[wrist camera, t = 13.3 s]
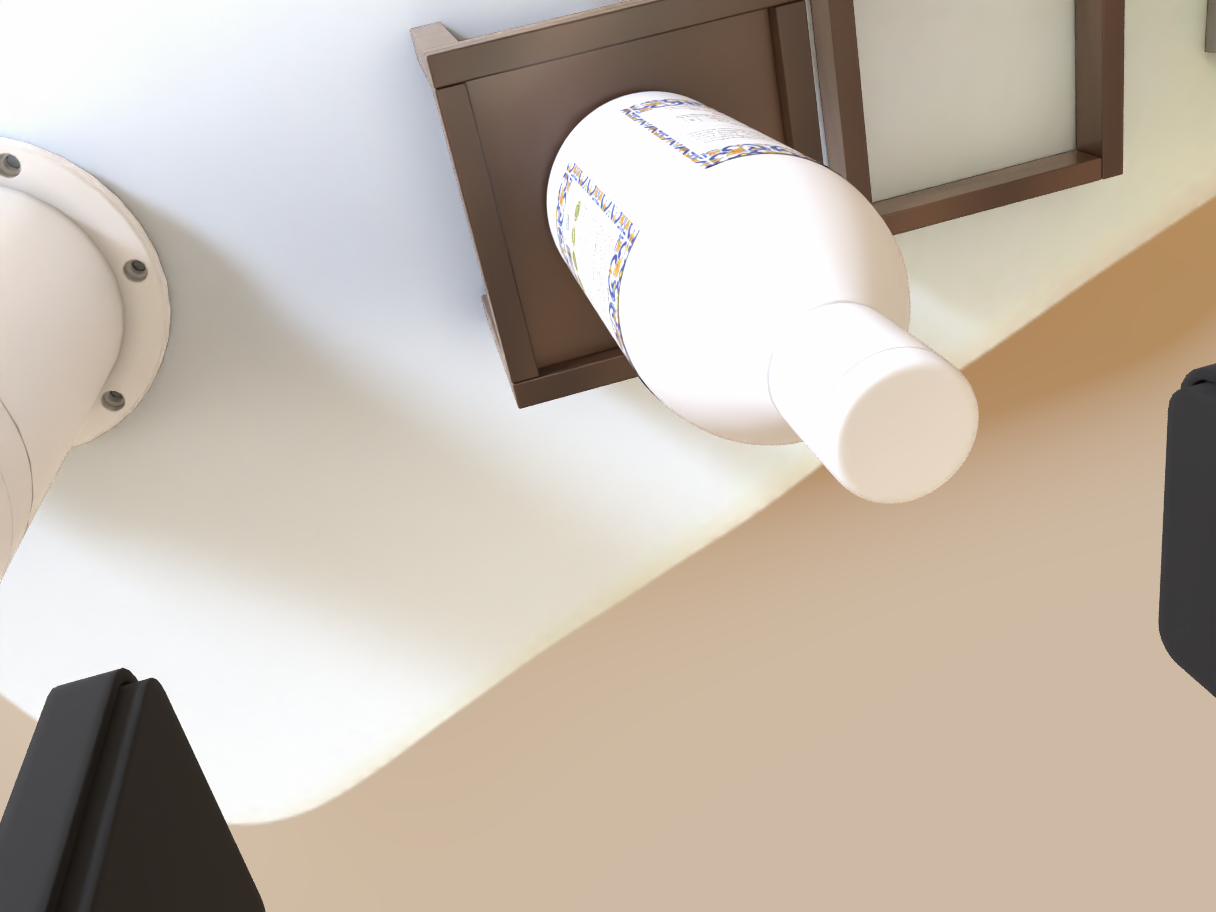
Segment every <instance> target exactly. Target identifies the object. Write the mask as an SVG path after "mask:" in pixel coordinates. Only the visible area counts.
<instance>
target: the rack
mask: <svg viewBox="0 0 1216 912" xmlns="http://www.w3.org/2000/svg"><path fill="white" fill-rule="evenodd" d="M1075 9H1076V125H1077V150H1073V151H1069V152H1066V153H1062V154H1058V155H1054V156H1050V157H1047V158H1043V159H1039V160H1035V161H1031V162H1028V163H1024V164H1020V165H1016V166H1013V167H1009V168H1005V169H1001V170H997V171H994V172H990V173H986V174H982V175H978V176H975V177H971V178H967V179H963V180H960V181H956V182H952V183H948V184H944V185H941V186H937V187H933V188H929V189H926V190H922V191H918V192H914V193H910V194H907V195H903V196H899V197H895V198H891V199H888V200H884V201H880V202H876V203H873V204H872V198H871V187H870V176H869V166H868V155H867V145H866V134H865V123H864V113H863V102H862V91H861V81H860V70H859V60H858V49H857V38H856V28H855V17H854V7H853V0H811V10H812V19H813V28H814V37H815V46H816V55H817V64H818V73H819V82H820V91H821V100H822V109H823V118H824V127H825V136H826V145H827V154H828V163H829V168H831V169H832V170H834V171H836V172H837V173H839V174H840V175H841V176H843V177H844V178H845V179H847V180H848V181H849V182H850V183H851V184H852V185H853V186H854V187H855V188H856V189H857V190H858V191H859V192H860V193H861V194H862V195H863V196H864V197H865V198H866V199H867V200H868V201H869V202H870V204H871V205H872V206H873V207H874V209H875V210H876V211H877V212H878V214H879V215H880V216H881V218H882V219H883V220H884V222H885V223H886V225H887V227H888V228H889V230H890V232H891V233H892V235H896V234H900V233H904V232H908V231H911V230H915V229H919V228H922V227H926V226H930V225H934V224H937V223H941V222H945V221H949V220H952V219H956V218H960V217H964V216H967V215H971V214H975V213H979V212H982V211H986V210H990V209H993V208H997V207H1001V206H1005V205H1008V204H1012V203H1016V202H1020V201H1023V200H1027V199H1031V198H1035V197H1038V196H1042V195H1046V194H1050V193H1053V192H1057V191H1061V190H1064V189H1068V188H1072V187H1076V186H1079V185H1083V184H1087V183H1091V182H1094V181H1098V180H1101V179H1106V178H1110V177H1114V176H1117V175H1121V174H1123V108H1124V11H1125V0H1075ZM410 32H411V36H412V40H413V44H414V47H415V51H416V55H417V59H418V61H419V63H420V65H421V67H422V69H423V71H424V73H425V75H426V77H427V79H428V81H429V83H430V85H431V87H432V90H433V93H434V97H435V101H436V105H437V108H438V112H439V116H440V120H441V124H442V127H443V131H444V135H445V139H446V142H447V146H448V150H449V154H450V158H451V161H452V165H453V169H454V173H455V176H456V180H457V184H458V188H459V192H460V195H461V199H462V203H463V207H464V210H465V214H466V218H467V222H468V226H469V229H470V233H471V237H472V241H473V244H474V248H475V252H476V256H477V260H478V263H479V267H480V271H481V275H482V278H483V282H484V286H485V290H486V294H487V295H483V296H482V297H481V298H482V302H483V305H484V309H485V313H486V316H487V320H488V323H489V326H490V329H491V332H492V335H493V337H494V340H495V343H496V346H497V349H498V352H499V354H500V357H501V360H502V363H503V366H504V369H505V371H506V374H507V377H508V380H509V383H510V386H511V388H512V391H513V394H514V397H515V400H516V402H517V405H518V408H519V409H521V408H525V407H528V406H532V405H536V404H539V403H543V402H547V401H550V400H554V399H558V398H561V397H565V396H569V395H572V394H576V393H580V392H583V391H587V390H590V389H594V388H598V387H601V386H605V385H609V384H612V383H616V382H620V381H623V380H627V379H631V378H634V377H638V375H637V373H636V372H635V370H634V369H633V367H632V366H631V364H630V363H629V361H628V359H627V358H626V356H625V355H624V353H623V352H622V350H621V349H620V347H619V345H618V344H617V342H616V341H615V339H614V338H613V336H612V335H611V333H610V332H609V330H608V328H607V327H606V325H605V324H604V322H603V321H602V319H601V318H600V316H599V314H598V313H597V311H596V310H595V308H594V307H593V305H592V304H591V302H590V301H589V299H588V297H587V296H586V294H585V293H584V291H583V290H582V288H581V287H580V285H579V283H578V282H577V280H576V279H575V277H574V276H573V274H572V273H571V271H570V269H569V267H568V266H567V264H566V262H565V261H564V259H563V257H562V256H561V254H560V252H559V250H558V248H557V246H556V244H555V242H554V239H553V236H552V233H551V230H550V226H549V221H548V214H547V189H548V182H549V177H550V173H551V170H552V167H553V164H554V161H555V159H556V156H557V154H558V152H559V150H560V148H561V147H562V145H563V143H564V142H565V140H566V139H567V137H568V136H569V134H570V133H571V132H572V131H573V129H574V128H575V127H576V126H577V125H578V124H579V123H580V122H581V121H582V120H583V119H584V118H585V117H586V116H588V115H589V114H590V113H592V112H593V111H594V110H596V109H597V108H599V107H600V106H602V105H604V104H606V103H608V102H610V101H612V100H614V99H617V98H619V97H622V96H625V95H629V94H633V93H639V92H648V91H659V92H669V93H674V94H679V95H682V96H685V97H688V98H691V99H693V100H696V101H698V102H700V103H702V104H704V105H706V106H708V107H711V108H713V109H715V110H717V111H719V112H721V113H723V114H725V115H727V116H729V117H731V118H733V119H735V120H737V121H739V122H741V123H743V124H745V125H746V126H748V127H750V128H752V129H754V130H756V131H758V132H760V133H762V134H764V135H766V136H768V137H770V138H772V139H774V140H776V141H778V142H780V143H782V144H784V145H786V146H788V147H790V148H792V149H794V150H796V151H798V152H800V153H802V154H803V155H805V156H807V157H809V158H811V159H813V160H815V161H817V162H819V163H821V164H823V157H822V148H821V139H820V130H819V121H818V112H817V103H816V94H815V86H814V77H813V68H812V59H811V50H810V41H809V32H808V23H807V15H806V6H805V0H629V1H625V2H621V3H617V4H613V5H609V6H604V7H600V8H596V9H592V10H588V11H584V12H579V13H575V14H571V15H567V16H563V17H559V18H555V19H550V20H546V21H542V22H538V23H534V24H530V25H525V26H521V27H517V28H513V29H509V30H505V31H501V32H496V33H492V34H488V35H484V36H480V37H476V38H471V39H467V40H463V41H459V42H458V41H457V40H456V39H455V38H454V36H453V35H452V34H451V33H450V32H449V31H448V30H447V29H446V28H445V27H444V26H443V25H442V24H441V22H437V23H433V24H428V25H424V26H420V27H416V28H412V29H410Z"/></svg>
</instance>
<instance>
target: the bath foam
mask: <svg viewBox="0 0 1216 912" xmlns="http://www.w3.org/2000/svg"><path fill="white" fill-rule="evenodd" d="M547 214H548V221H549V226H550V230H551V233H552V236H553V239H554V242H555V244H556V246H557V248H558V250H559V252H560V254H561V256H562V257H563V259H564V261H565V262H566V264H567V266H568V267H569V269H570V271H571V273H572V274H573V276H574V277H575V279H576V280H577V282H578V283H579V285H580V287H581V288H582V290H583V291H584V293H585V294H586V296H587V297H588V299H589V301H590V302H591V304H592V305H593V307H594V308H595V310H596V311H597V313H598V314H599V316H600V318H601V319H602V321H603V322H604V324H605V325H606V327H607V328H608V330H609V332H610V333H611V335H612V336H613V338H614V339H615V341H616V342H617V344H618V345H619V347H620V349H621V350H622V352H623V353H624V355H625V356H626V358H627V359H628V361H629V363H630V364H631V366H632V367H633V369H634V370H635V372H636V373H637V375H638V376H639V378H640V379H641V381H642V382H643V383H644V385H645V386H646V387H647V388H648V389H649V390H650V391H651V392H652V393H653V394H654V395H655V396H656V397H657V398H658V399H659V400H660V401H662V402H663V403H664V404H665V405H666V406H667V407H668V408H670V409H671V410H672V411H673V412H675V413H676V414H677V415H679V416H680V417H681V418H683V419H685V420H686V421H688V422H689V423H691V424H693V425H694V426H696V427H698V428H700V429H702V430H704V431H707V432H709V433H711V434H714V435H716V436H719V437H722V438H725V439H728V440H732V441H737V442H741V443H746V444H754V445H786V444H793V443H798V442H804V443H805V444H806V445H807V446H808V447H809V448H810V450H811V451H812V452H813V453H814V454H815V455H816V456H817V458H818V459H819V460H820V461H821V462H822V463H823V464H824V465H825V467H826V468H827V469H828V470H829V471H830V472H831V473H832V474H833V475H834V476H835V478H836V479H837V480H838V481H839V482H840V483H841V484H842V485H843V486H844V487H845V488H846V489H848V490H849V491H850V492H852V493H853V494H855V495H857V496H859V497H861V498H863V499H866V500H869V501H873V502H876V503H884V504H896V503H903V502H908V501H912V500H915V499H918V498H920V497H922V496H924V495H926V494H929V493H930V492H932V491H934V490H935V489H937V488H938V487H940V486H941V485H942V484H944V483H945V482H946V481H947V480H949V479H950V478H951V477H952V476H953V475H954V474H955V472H956V471H957V470H958V469H959V468H960V467H961V465H962V464H963V462H964V461H965V459H966V458H967V456H968V454H969V452H970V450H971V448H972V446H973V443H974V440H975V437H976V434H977V429H978V420H979V415H978V414H979V413H978V404H977V400H976V397H975V394H974V392H973V389H972V387H971V385H970V384H969V382H968V381H967V379H966V378H965V377H964V375H963V374H962V373H961V372H960V371H959V370H958V369H957V368H956V367H955V366H953V365H952V364H951V363H950V362H948V361H947V360H946V359H944V358H943V357H942V356H940V355H939V354H937V353H936V352H935V351H933V350H932V349H931V348H929V347H928V346H926V345H925V344H924V343H922V342H921V341H920V340H918V339H917V338H915V337H914V336H913V335H911V334H910V333H909V332H908V329H909V321H910V291H909V282H908V276H907V272H906V268H905V265H904V261H903V258H902V255H901V252H900V250H899V247H898V245H897V243H896V241H895V239H894V237H893V235H892V233H891V232H890V230H889V228H888V227H887V225H886V223H885V222H884V220H883V219H882V218H881V216H880V215H879V214H878V212H877V211H876V210H875V209H874V207H873V206H872V205H871V204H870V202H869V201H868V200H867V199H866V198H865V197H864V196H863V195H862V194H861V193H860V192H859V191H858V190H857V189H856V188H855V187H854V186H853V185H852V184H851V183H850V182H849V181H848V180H847V179H845V178H844V177H843V176H841V175H840V174H839V173H837V172H836V171H834V170H832V169H831V168H829V167H827V166H825V165H823V164H821V163H819V162H817V161H815V160H813V159H811V158H809V157H807V156H805V155H803V154H802V153H800V152H798V151H796V150H794V149H792V148H790V147H788V146H786V145H784V144H782V143H780V142H778V141H776V140H774V139H772V138H770V137H768V136H766V135H764V134H762V133H760V132H758V131H756V130H754V129H752V128H750V127H748V126H746V125H745V124H743V123H741V122H739V121H737V120H735V119H733V118H731V117H729V116H727V115H725V114H723V113H721V112H719V111H717V110H715V109H713V108H711V107H708V106H706V105H704V104H702V103H700V102H698V101H696V100H693V99H691V98H688V97H685V96H682V95H679V94H674V93H669V92H659V91H648V92H639V93H633V94H629V95H625V96H622V97H619V98H617V99H614V100H612V101H610V102H608V103H606V104H604V105H602V106H600V107H599V108H597V109H596V110H594V111H593V112H592V113H590V114H589V115H588V116H586V117H585V118H584V119H583V120H582V121H581V122H580V123H579V124H578V125H577V126H576V127H575V128H574V129H573V131H572V132H571V133H570V134H569V136H568V137H567V139H566V140H565V142H564V143H563V145H562V147H561V148H560V150H559V152H558V154H557V156H556V159H555V161H554V164H553V167H552V170H551V173H550V177H549V182H548V189H547Z"/></svg>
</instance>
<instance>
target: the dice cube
mask: <svg viewBox="0 0 1216 912" xmlns="http://www.w3.org/2000/svg"><path fill="white" fill-rule="evenodd" d="M1205 52H1212V53H1216V0H1208V13H1207V28H1206V44H1205Z"/></svg>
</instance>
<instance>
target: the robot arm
mask: <svg viewBox="0 0 1216 912" xmlns="http://www.w3.org/2000/svg"><path fill="white" fill-rule="evenodd" d="M8 156H14V157H16V158H17V159H18V160H19V162H20V166H19V168H13V167H11V166H10V165H9V164H8V163H7V157H8ZM133 261H140V262H142V263H143V264H144V265H145V270H143V271H138V270H136V269H135V268H134V267H133V265H132V262H133ZM170 314H171V309H170V302H169V294H168V287H167V281H166V278H165V275H164V272H163V269H162V266H161V263H160V261H159V258H158V255H157V252H156V250H155V249H154V247H153V245H152V243H151V242H150V240H149V238H148V236H147V235H146V233H145V231H144V229H143V228H142V226H141V224H140V223H139V222H138V221H137V219H136V218H135V217H134V216H133V215H132V213H131V212H130V211H129V210H128V209H127V207H126V206H125V205H124V204H123V203H122V201H121V200H120V199H119V198H118V197H117V196H116V195H115V194H113V193H112V192H111V191H110V190H109V189H107V188H106V187H105V186H104V185H103V184H102V183H100V182H99V181H98V180H97V179H96V178H95V177H93V176H92V175H91V174H89V173H87V172H86V171H84V170H83V169H81V168H79V167H78V166H76V165H74V164H73V163H71V162H69V161H68V160H66V159H64V158H63V157H61V156H59V155H56V154H54V153H51V152H49V151H46V150H44V149H41V148H39V147H36V146H34V145H31V144H29V143H26V142H22V141H17V140H13V139H8V138H4V137H0V582H1V580H2V578H3V576H4V574H5V572H6V570H7V568H8V566H9V564H10V562H11V560H12V558H13V557H14V555H15V553H16V551H17V549H18V547H19V545H20V543H21V541H22V539H23V537H24V535H25V533H26V531H27V529H28V527H29V525H30V523H31V522H32V520H33V518H34V516H35V514H36V512H37V510H38V508H39V506H40V504H41V503H42V501H43V499H44V497H45V495H46V493H47V491H48V489H49V487H50V485H51V483H52V482H53V480H54V478H55V476H56V474H57V472H58V470H59V468H60V466H61V464H62V463H63V461H64V459H65V457H66V455H67V453H68V451H69V449H71V448H73V447H76V446H79V445H82V444H84V443H87V442H90V441H91V440H93V439H95V438H96V437H98V436H100V435H101V434H103V433H105V432H106V431H108V430H110V429H111V428H113V427H115V426H116V425H117V424H118V423H119V422H120V421H121V420H122V419H123V418H124V417H126V416H127V415H128V414H129V413H130V412H131V411H132V410H133V409H134V408H135V407H136V406H137V405H138V403H139V402H140V400H141V399H142V398H143V396H144V395H145V393H146V392H147V391H148V389H149V388H150V387H151V385H152V383H153V381H154V379H155V377H156V374H157V372H158V370H159V368H160V366H161V363H162V359H163V356H164V353H165V349H166V346H167V343H168V340H169V327H170ZM111 391H116V392H118V393H120V394H121V395H122V396H123V397H121V398H115V397H113V396H112V395H111ZM1161 558H1162V559H1161V580H1160V601H1159V631H1160V636H1161V639H1162V642H1163V644H1164V646H1165V648H1166V650H1167V652H1168V653H1169V655H1170V656H1171V658H1172V659H1173V660H1174V661H1175V662H1176V663H1177V664H1178V665H1179V666H1180V667H1181V668H1183V669H1184V670H1185V671H1186V672H1187V673H1188V674H1189V675H1191V676H1192V677H1193V678H1194V679H1195V680H1196V681H1197V682H1199V683H1200V684H1201V685H1202V686H1203V687H1204V688H1205V689H1207V690H1208V691H1209V692H1210V693H1211V694H1212V695H1213V696H1215V697H1216V364H1212V365H1209V366H1205V367H1201V368H1198V369H1194V370H1192V371H1191V372H1190V373H1189V374H1187V375H1186V377H1185V379H1184V380H1183V382H1182V384H1181V389H1180V390H1178V391H1176V392H1175V393H1174V394H1173V395H1172V397H1171V399H1170V402H1169V408H1168V425H1167V448H1166V470H1165V491H1164V513H1163V535H1162V557H1161ZM0 912H265V908H264V904H263V902H262V899H261V896H260V894H259V892H258V890H257V888H256V886H255V883H254V881H253V879H252V877H251V875H250V873H249V871H248V868H247V866H246V864H245V862H244V860H243V858H242V856H241V854H240V851H239V849H238V847H237V845H236V843H235V841H234V839H233V836H232V834H231V832H230V830H229V828H228V825H227V823H226V821H225V819H224V817H223V815H222V813H221V810H220V808H219V806H218V804H217V802H216V800H215V798H214V795H213V793H212V791H211V789H210V787H209V785H208V783H207V780H206V778H205V776H204V774H203V772H202V770H201V767H200V765H199V763H198V761H197V759H196V757H195V755H194V752H193V750H192V748H191V746H190V744H189V742H188V740H187V737H186V735H185V733H184V731H183V729H182V727H181V725H180V722H179V720H178V718H177V716H176V714H175V712H174V710H173V707H172V705H171V703H170V701H169V699H168V697H167V694H166V692H165V691H164V689H163V687H162V685H161V684H160V683H159V682H158V680H157V679H154V678H149V679H145V680H142V681H138V680H137V679H136V677H135V676H134V675H133V674H132V673H131V672H130V671H129V670H127V669H125V668H121V669H117V670H114V671H110V672H107V673H103V674H99V675H96V676H92V677H89V678H85V679H81V680H78V681H74V682H71V683H67V684H64V685H60V686H57V687H55V688H53V689H52V690H51V692H50V693H49V695H48V697H47V699H46V702H45V705H44V708H43V710H42V713H41V716H40V718H39V721H38V724H37V726H36V729H35V732H34V734H33V737H32V740H31V742H30V745H29V748H28V750H27V753H26V756H25V759H24V761H23V764H22V766H21V769H20V772H19V774H18V777H17V780H16V782H15V785H14V788H13V790H12V793H11V796H10V799H9V801H8V804H7V806H6V809H5V812H4V815H3V817H2V820H1V823H0Z"/></svg>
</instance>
